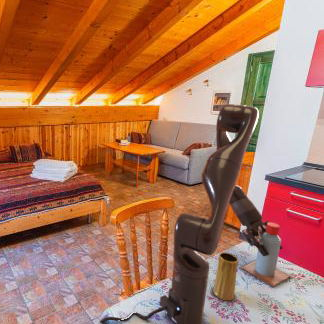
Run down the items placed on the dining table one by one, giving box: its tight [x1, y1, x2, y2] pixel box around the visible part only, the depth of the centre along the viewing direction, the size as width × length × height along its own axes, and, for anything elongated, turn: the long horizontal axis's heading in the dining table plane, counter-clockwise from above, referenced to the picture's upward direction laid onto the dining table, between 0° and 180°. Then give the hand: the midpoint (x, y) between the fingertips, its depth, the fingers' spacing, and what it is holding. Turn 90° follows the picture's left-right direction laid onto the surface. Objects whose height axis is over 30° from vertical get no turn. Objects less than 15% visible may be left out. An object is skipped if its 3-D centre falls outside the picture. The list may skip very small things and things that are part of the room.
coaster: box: [240, 260, 291, 287], centre depth 94 cm, size 11×11×1 cm
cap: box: [266, 221, 281, 236], centre depth 90 cm, size 4×4×3 cm
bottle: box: [255, 232, 282, 277], centre depth 92 cm, size 6×6×19 cm
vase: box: [212, 252, 239, 301], centre depth 82 cm, size 6×6×14 cm
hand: (273, 252), depth 90 cm, fingers open, 8 cm apart
